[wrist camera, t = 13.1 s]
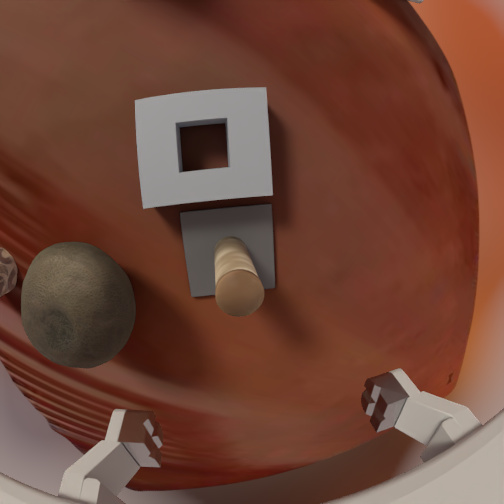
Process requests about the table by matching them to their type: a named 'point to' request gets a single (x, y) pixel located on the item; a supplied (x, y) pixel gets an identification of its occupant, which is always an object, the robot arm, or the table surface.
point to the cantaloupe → (77, 305)
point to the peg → (236, 278)
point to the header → (193, 114)
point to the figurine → (7, 272)
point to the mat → (223, 225)
